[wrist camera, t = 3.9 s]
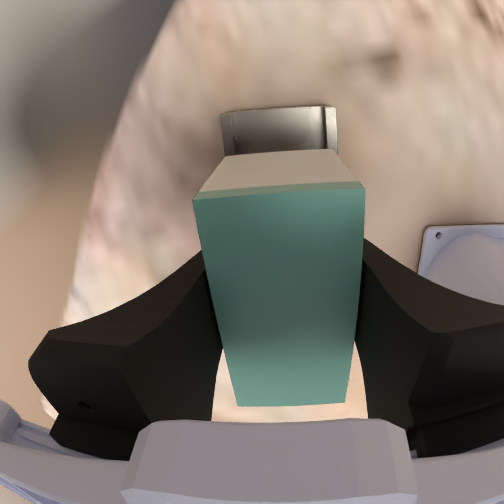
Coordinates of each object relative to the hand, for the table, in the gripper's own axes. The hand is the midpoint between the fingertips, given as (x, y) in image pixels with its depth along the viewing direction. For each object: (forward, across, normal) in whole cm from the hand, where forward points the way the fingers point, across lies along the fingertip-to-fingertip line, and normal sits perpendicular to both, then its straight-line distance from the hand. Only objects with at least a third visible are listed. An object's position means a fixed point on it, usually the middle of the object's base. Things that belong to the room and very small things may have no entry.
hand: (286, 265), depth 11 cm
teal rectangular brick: (+2, 0, 0) cm, 2 cm away
